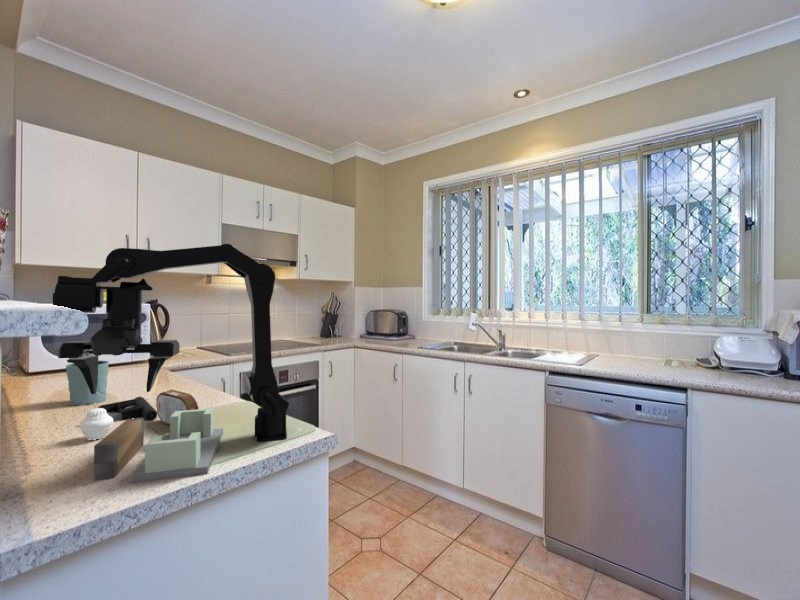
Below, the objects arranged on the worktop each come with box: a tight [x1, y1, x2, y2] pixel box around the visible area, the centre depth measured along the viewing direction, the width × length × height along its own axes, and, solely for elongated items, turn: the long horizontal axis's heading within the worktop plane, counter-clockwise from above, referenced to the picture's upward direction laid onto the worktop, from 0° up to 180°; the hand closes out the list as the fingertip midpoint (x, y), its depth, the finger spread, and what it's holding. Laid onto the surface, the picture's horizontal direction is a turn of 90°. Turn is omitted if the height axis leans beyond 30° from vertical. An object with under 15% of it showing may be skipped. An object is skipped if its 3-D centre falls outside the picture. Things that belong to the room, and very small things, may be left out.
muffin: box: [78, 407, 115, 441], centre depth 88 cm, size 6×6×7 cm
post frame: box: [130, 407, 224, 483], centre depth 79 cm, size 12×22×6 cm, turn 18°
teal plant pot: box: [65, 360, 110, 406], centre depth 118 cm, size 10×10×12 cm
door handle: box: [97, 396, 158, 422], centre depth 105 cm, size 3×20×16 cm
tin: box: [156, 389, 199, 426], centre depth 97 cm, size 15×3×8 cm, turn 59°
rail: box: [93, 417, 145, 481], centre depth 76 cm, size 3×16×6 cm, turn 18°
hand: (121, 392), depth 76 cm, fingers open, 9 cm apart
